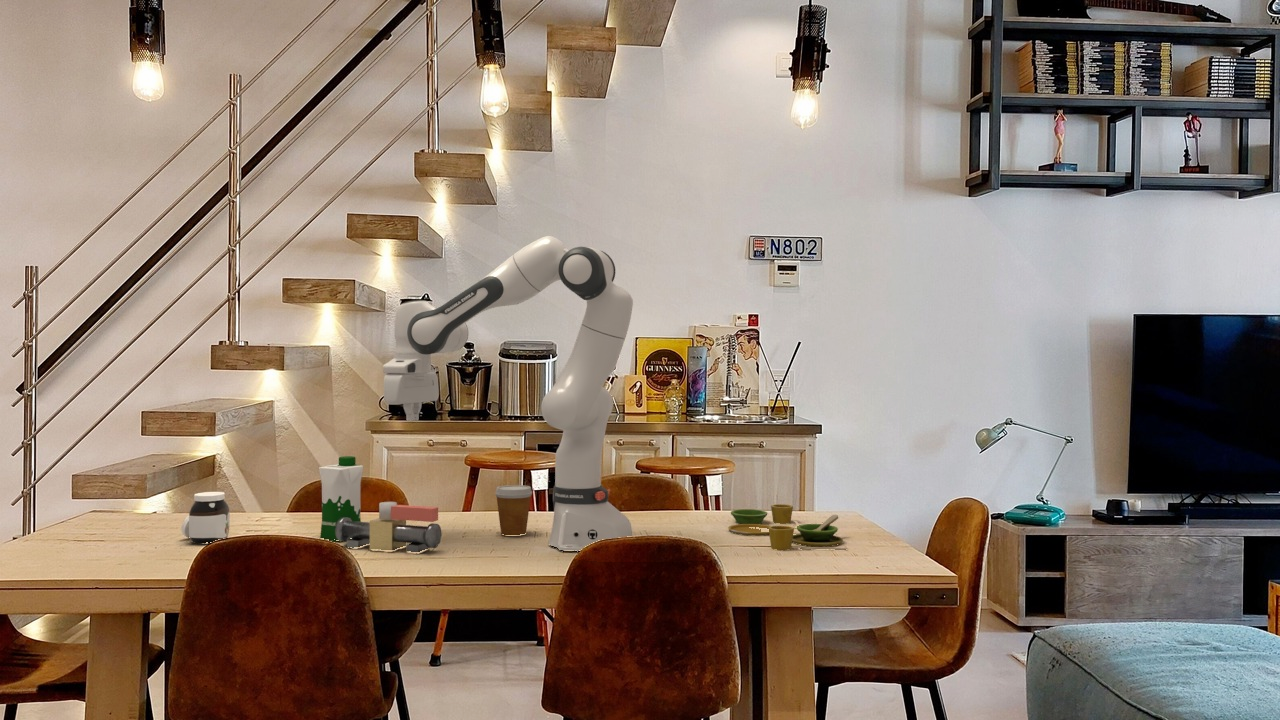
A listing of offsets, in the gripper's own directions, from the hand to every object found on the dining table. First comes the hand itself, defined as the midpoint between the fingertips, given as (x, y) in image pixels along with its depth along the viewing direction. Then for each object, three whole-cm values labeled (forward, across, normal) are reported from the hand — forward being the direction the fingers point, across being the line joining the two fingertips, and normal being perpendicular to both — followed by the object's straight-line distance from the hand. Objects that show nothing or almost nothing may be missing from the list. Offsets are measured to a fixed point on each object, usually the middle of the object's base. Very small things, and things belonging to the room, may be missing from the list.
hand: (412, 421), depth 238 cm
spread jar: (+29, +20, -46) cm, 58 cm away
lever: (+22, +14, +7) cm, 27 cm away
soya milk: (+29, +7, -16) cm, 34 cm away
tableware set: (+30, -36, +87) cm, 99 cm away
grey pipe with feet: (+29, +14, +2) cm, 32 cm away
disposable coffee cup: (+29, -12, +22) cm, 39 cm away
